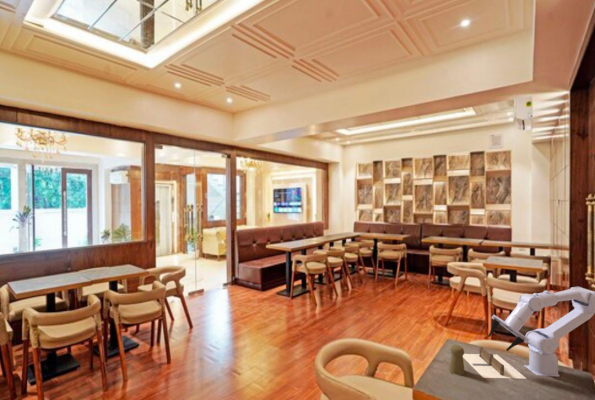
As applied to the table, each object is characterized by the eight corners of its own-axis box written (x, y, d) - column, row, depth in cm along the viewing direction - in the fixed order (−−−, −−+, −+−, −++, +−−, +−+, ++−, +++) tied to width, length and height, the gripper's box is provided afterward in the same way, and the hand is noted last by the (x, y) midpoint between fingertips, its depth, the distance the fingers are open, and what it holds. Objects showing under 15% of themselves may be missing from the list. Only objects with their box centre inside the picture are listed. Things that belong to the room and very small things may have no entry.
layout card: (497, 355, 146) (497, 354, 146) (526, 379, 127) (526, 378, 127) (459, 354, 147) (459, 353, 147) (483, 378, 127) (483, 377, 127)
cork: (461, 368, 135) (461, 343, 135) (467, 376, 129) (467, 350, 129) (446, 368, 135) (447, 342, 135) (452, 375, 129) (452, 349, 129)
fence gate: (494, 366, 136) (494, 357, 136) (504, 375, 129) (504, 365, 129) (490, 366, 136) (491, 357, 136) (501, 375, 129) (501, 365, 129)
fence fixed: (482, 355, 145) (482, 345, 145) (494, 366, 136) (494, 355, 136) (478, 355, 145) (478, 345, 145) (490, 366, 136) (490, 355, 136)
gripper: (500, 305, 134) (480, 330, 134) (537, 330, 125) (516, 357, 125) (499, 307, 140) (480, 331, 139) (534, 332, 131) (514, 357, 130)
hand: (497, 343), depth 132 cm, fingers open, 7 cm apart
